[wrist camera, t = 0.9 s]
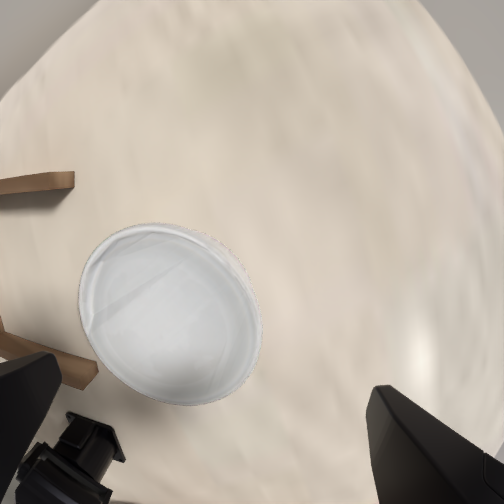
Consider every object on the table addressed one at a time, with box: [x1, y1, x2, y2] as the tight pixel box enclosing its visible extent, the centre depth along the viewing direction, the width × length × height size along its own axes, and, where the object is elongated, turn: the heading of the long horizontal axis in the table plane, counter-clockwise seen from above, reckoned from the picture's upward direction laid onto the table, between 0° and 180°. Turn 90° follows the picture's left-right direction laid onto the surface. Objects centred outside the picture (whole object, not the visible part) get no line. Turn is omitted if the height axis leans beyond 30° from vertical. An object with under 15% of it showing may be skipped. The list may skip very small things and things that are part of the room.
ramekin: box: [78, 223, 263, 406], centre depth 18 cm, size 11×11×5 cm
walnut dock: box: [0, 171, 99, 390], centre depth 20 cm, size 17×15×3 cm
